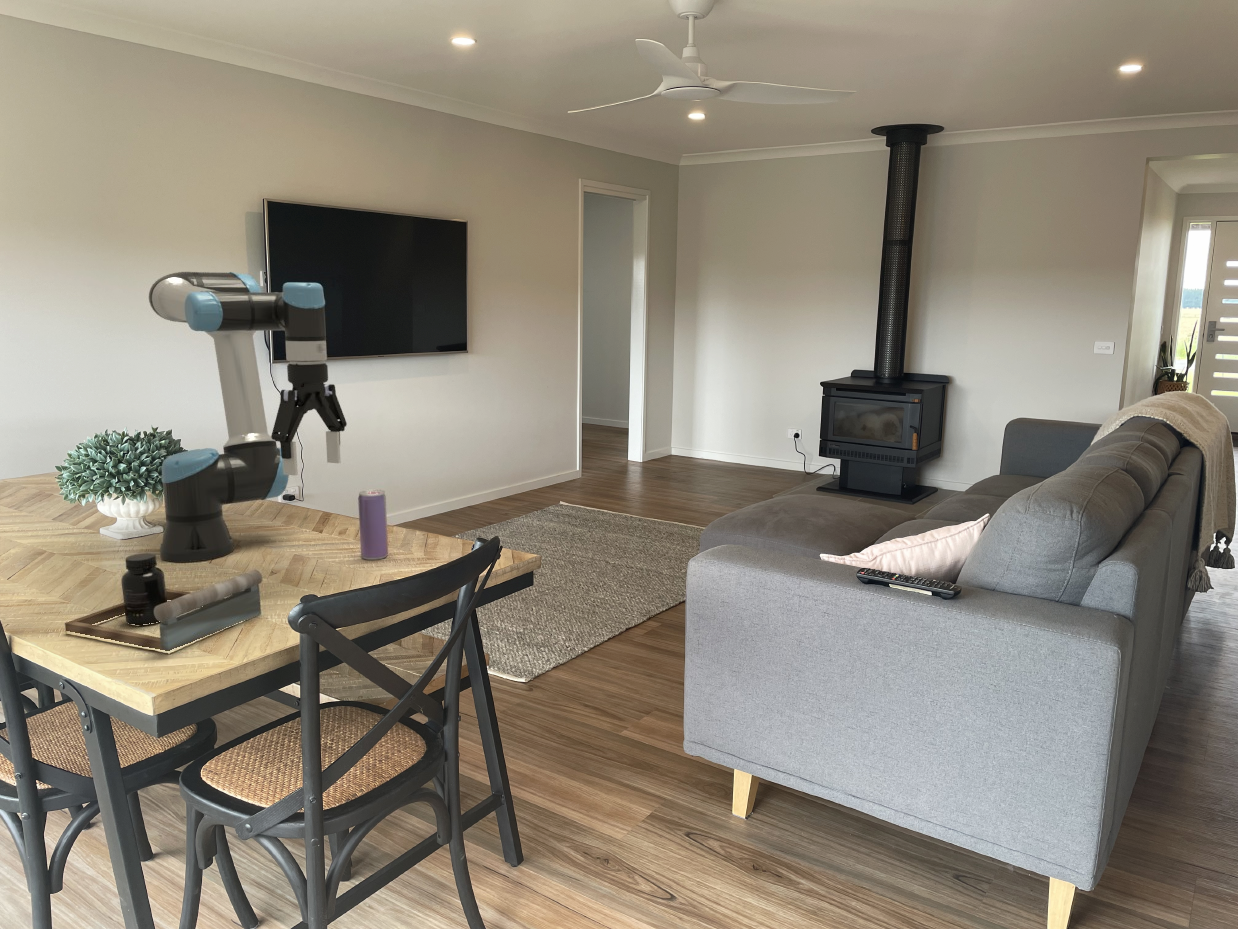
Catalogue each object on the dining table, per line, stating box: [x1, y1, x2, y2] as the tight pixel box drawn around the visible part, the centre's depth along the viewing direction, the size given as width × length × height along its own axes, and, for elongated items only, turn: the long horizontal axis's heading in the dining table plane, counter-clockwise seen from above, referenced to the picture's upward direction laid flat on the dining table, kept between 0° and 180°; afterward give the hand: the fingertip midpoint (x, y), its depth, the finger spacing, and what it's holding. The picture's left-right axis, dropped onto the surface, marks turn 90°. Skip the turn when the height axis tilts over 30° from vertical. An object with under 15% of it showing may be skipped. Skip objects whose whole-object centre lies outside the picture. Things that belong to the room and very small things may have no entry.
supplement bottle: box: [120, 552, 168, 625], centre depth 158 cm, size 7×7×12 cm
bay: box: [64, 569, 263, 651], centre depth 156 cm, size 24×21×8 cm
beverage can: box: [357, 489, 389, 561], centre depth 198 cm, size 6×6×15 cm
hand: (313, 468), depth 177 cm, fingers open, 13 cm apart
